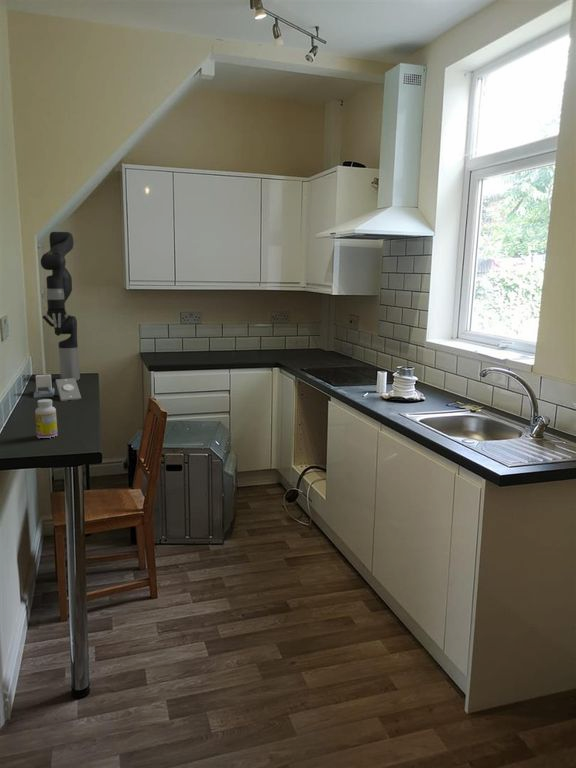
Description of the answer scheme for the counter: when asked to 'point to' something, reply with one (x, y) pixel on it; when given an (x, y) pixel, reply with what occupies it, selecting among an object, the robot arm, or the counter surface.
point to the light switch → (68, 389)
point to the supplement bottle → (46, 419)
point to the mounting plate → (50, 394)
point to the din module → (43, 381)
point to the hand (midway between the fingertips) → (58, 335)
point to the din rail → (43, 390)
